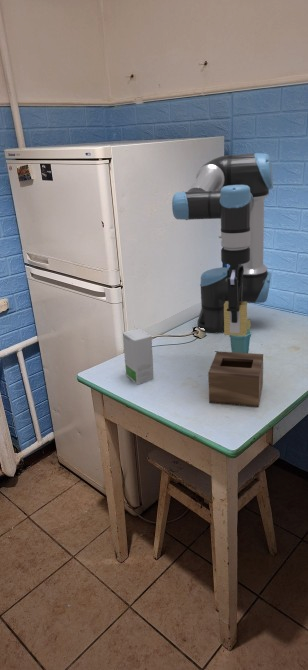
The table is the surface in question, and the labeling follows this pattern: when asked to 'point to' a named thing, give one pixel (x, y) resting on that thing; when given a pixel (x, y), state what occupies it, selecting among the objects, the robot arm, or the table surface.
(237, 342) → the cup
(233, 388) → the coin box
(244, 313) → the block
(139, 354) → the skincare box
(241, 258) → the robot arm
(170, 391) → the table surface
